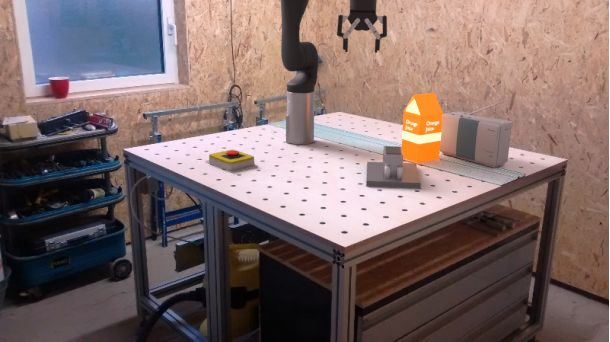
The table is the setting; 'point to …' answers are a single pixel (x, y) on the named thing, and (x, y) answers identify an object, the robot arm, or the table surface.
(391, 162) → the grey boxy piece
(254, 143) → the table surface
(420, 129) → the orange juice
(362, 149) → the table surface
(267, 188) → the table surface
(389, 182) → the pin tray
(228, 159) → the emergency button
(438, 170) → the table surface
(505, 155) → the stereo radio cassette player
